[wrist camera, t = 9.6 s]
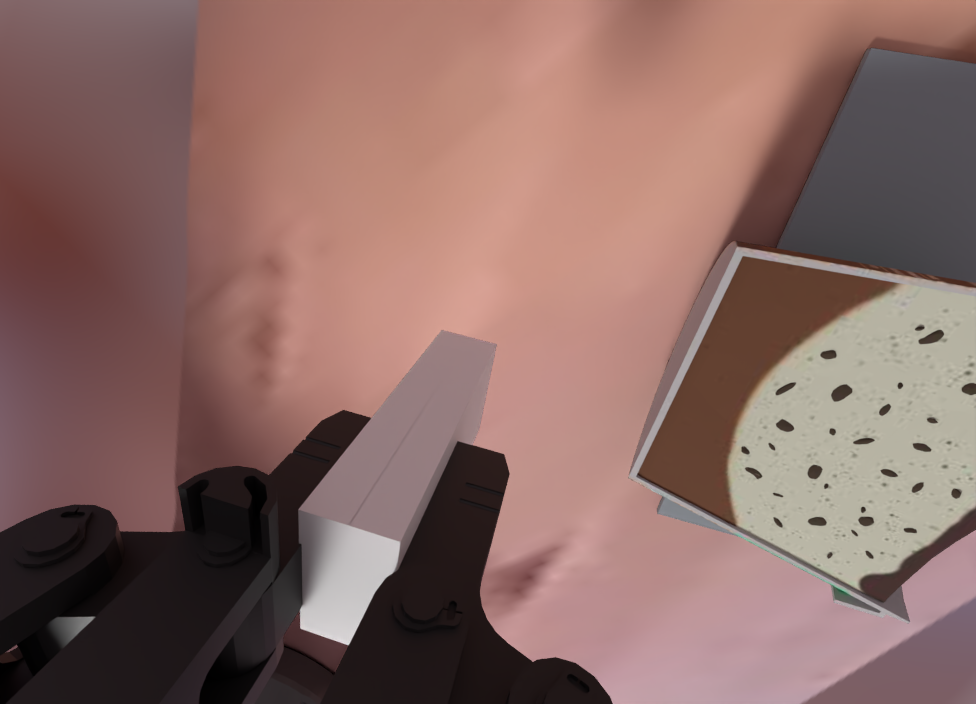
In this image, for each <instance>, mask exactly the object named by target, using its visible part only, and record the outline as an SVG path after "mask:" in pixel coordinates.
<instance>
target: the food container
mask: <svg viewBox="0 0 976 704" xmlns="http://www.w3.org/2000/svg"><path fill="white" fill-rule="evenodd" d="M628 478H629V479H631V480H633V481H635V482H637V483H639V484H641V485H642V486H644V487H646V488H648V489H650V490H652V491H654V492H656V493H658V494H659V495H661V496H663V497H665V498H667V499H669V500H671V501H673V502H675V503H677V504H678V505H680V506H682V507H684V508H686V509H688V510H690V511H692V512H694V513H696V514H697V515H699V516H701V517H703V518H705V519H707V520H709V521H711V522H713V523H715V524H716V525H718V526H720V527H722V528H724V529H726V530H728V531H730V532H732V533H734V534H735V535H737V536H739V537H741V538H743V539H745V540H747V541H749V542H751V543H753V544H754V545H756V546H758V547H760V548H762V549H764V550H766V551H768V552H770V553H772V554H773V555H775V556H777V557H779V558H781V559H783V560H785V561H787V562H789V563H790V564H792V565H794V566H796V567H798V568H800V569H802V570H804V571H806V572H808V573H809V574H811V575H813V576H815V577H817V578H819V579H821V580H823V581H825V582H827V583H828V584H830V585H831V588H832V594H833V600H834V603H837V604H840V605H843V606H846V607H849V608H852V609H856V610H859V611H862V612H865V613H868V614H871V615H874V616H878V617H881V618H883V617H884V616H885V615H889V616H891V617H894V618H896V619H898V620H901V621H903V622H906V623H908V624H909V623H910V620H909V617H908V613H907V610H906V606H905V603H904V599H903V592H902V586H901V585H902V584H903V583H904V582H905V581H907V580H908V579H909V578H910V577H911V576H912V575H913V574H915V573H916V572H917V571H918V570H919V569H920V568H921V567H923V566H924V565H925V564H926V563H927V562H928V561H930V560H931V559H932V558H933V557H935V556H936V555H938V554H939V553H941V552H942V551H943V550H945V549H946V548H948V547H949V546H951V545H952V544H953V543H955V542H956V541H958V540H960V539H961V538H963V537H965V536H966V535H968V534H970V533H971V532H973V531H975V530H976V283H973V282H968V281H962V280H956V279H950V278H945V277H939V276H933V275H927V274H922V273H916V272H910V271H904V270H899V269H893V268H887V267H881V266H876V265H870V264H864V263H858V262H853V261H847V260H841V259H835V258H830V257H824V256H818V255H812V254H806V253H801V252H795V251H789V250H783V249H778V248H772V247H766V246H760V245H755V244H749V243H743V242H737V241H732V242H731V243H730V244H729V245H728V246H727V247H726V248H725V249H724V251H723V252H722V254H721V255H720V257H719V258H718V260H717V261H716V263H715V265H714V267H713V268H712V270H711V272H710V274H709V275H708V277H707V279H706V281H705V283H704V285H703V287H702V289H701V291H700V293H699V295H698V297H697V299H696V301H695V303H694V305H693V307H692V309H691V311H690V313H689V316H688V318H687V320H686V322H685V324H684V327H683V329H682V331H681V333H680V336H679V338H678V340H677V343H676V345H675V347H674V350H673V352H672V354H671V357H670V359H669V362H668V364H667V366H666V369H665V372H664V374H663V377H662V379H661V382H660V384H659V387H658V389H657V392H656V394H655V397H654V400H653V403H652V405H651V408H650V411H649V414H648V417H647V419H646V422H645V425H644V428H643V431H642V434H641V437H640V440H639V443H638V446H637V449H636V452H635V455H634V459H633V462H632V466H631V469H630V473H629V476H628Z"/></svg>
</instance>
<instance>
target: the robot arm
mask: <svg viewBox="0 0 976 704" xmlns="http://www.w3.org/2000/svg"><path fill="white" fill-rule="evenodd" d="M496 346H497V344H494V343H490V342H486V341H483V340H479V339H475V338H471V337H467V336H463V335H459V334H456V333H452V332H448V331H444V330H441V332H440V333H439V334H438V335H437V337H436V338H435V339H434V340H433V342H432V343H431V344H430V345H429V347H428V348H427V349H426V350H425V352H424V353H423V354H422V355H421V357H420V358H419V359H418V360H417V362H416V363H415V364H414V365H413V367H412V368H411V369H410V370H409V372H408V373H407V374H406V375H405V377H404V378H403V379H402V380H401V382H400V383H399V384H398V385H397V387H396V388H395V389H394V391H393V392H392V393H391V394H390V396H389V397H388V398H387V399H386V401H385V402H384V403H383V404H382V406H381V407H380V408H379V409H378V411H377V412H376V413H375V414H374V416H373V417H372V418H370V417H366V416H363V415H359V414H356V413H352V412H349V411H345V410H342V411H340V412H338V413H336V414H334V415H332V416H330V417H328V418H326V419H324V420H322V421H321V422H320V423H319V424H318V425H317V426H316V427H315V428H314V429H313V430H312V431H311V432H310V433H309V434H308V435H307V436H306V439H305V440H303V441H302V442H301V443H300V444H299V445H298V446H297V447H296V448H295V449H294V451H293V453H292V454H291V453H290V454H289V455H288V456H287V457H286V458H285V459H284V460H283V461H282V462H281V463H280V464H279V466H278V467H277V468H276V469H275V470H274V471H273V472H272V473H271V474H270V475H267V474H265V473H263V472H261V471H259V470H257V469H255V468H248V467H241V466H232V467H223V468H216V469H213V470H210V471H207V472H204V473H201V474H198V475H196V476H194V477H192V478H191V479H189V480H188V481H186V482H185V483H183V484H181V485H180V486H178V490H179V496H180V501H181V507H182V513H183V518H184V524H185V531H180V532H121V531H119V527H118V523H117V521H116V519H115V518H114V516H113V515H112V513H111V512H110V511H109V510H106V509H104V508H101V507H98V506H96V505H70V506H65V507H61V508H55V509H51V510H48V511H45V512H43V513H40V514H38V515H36V516H33V517H31V518H28V519H26V520H24V521H22V522H20V523H18V524H16V525H14V526H12V527H10V528H8V529H6V530H4V531H2V532H0V704H613V703H612V701H611V698H610V696H609V695H608V694H607V692H606V691H605V690H604V689H603V687H602V686H601V685H600V683H599V682H598V681H597V679H596V678H595V677H594V676H593V675H591V674H590V673H589V672H587V671H586V670H584V669H583V668H582V667H580V666H579V665H578V664H576V663H573V662H570V661H566V660H563V659H560V658H556V657H555V658H547V659H540V660H536V661H534V662H532V661H531V660H530V659H528V658H527V657H526V656H524V655H523V654H522V653H520V652H519V651H518V650H516V649H515V648H514V647H512V646H511V645H510V644H508V643H507V642H506V641H505V640H504V639H503V638H502V637H501V636H500V635H498V634H497V633H496V632H495V630H494V629H493V627H492V626H491V624H490V623H489V621H488V620H487V618H486V615H485V613H484V610H483V608H482V605H481V597H480V586H481V581H482V577H483V573H484V569H485V566H486V562H487V558H488V554H489V551H490V547H491V543H492V539H493V536H494V532H495V528H496V524H497V520H498V516H499V513H500V509H501V505H502V501H503V497H504V493H505V489H506V486H507V482H508V478H509V470H508V466H507V463H506V459H505V456H504V454H501V453H498V452H494V451H491V450H487V449H484V448H480V447H477V446H473V443H474V440H475V438H476V435H477V433H478V431H479V428H480V423H481V418H482V413H483V409H484V404H485V399H486V394H487V389H488V385H489V380H490V375H491V370H492V365H493V360H494V356H495V351H496ZM299 610H300V629H303V630H306V631H308V632H311V633H314V634H317V635H320V636H323V637H326V638H329V639H331V640H334V641H337V642H340V643H343V644H346V645H349V646H348V648H347V650H346V652H345V654H344V656H343V658H342V660H341V662H340V664H339V666H338V668H337V670H336V672H335V674H334V675H333V674H332V673H330V672H329V671H328V670H326V669H325V668H323V667H322V666H320V665H319V664H317V663H316V662H314V661H313V660H311V659H309V658H307V657H305V656H303V655H302V654H300V653H297V652H295V651H293V650H291V649H288V648H286V647H284V643H283V635H284V634H285V632H286V631H287V629H288V628H289V626H290V624H291V623H292V621H293V620H294V618H295V616H296V615H297V613H298V612H299ZM15 645H17V646H18V647H17V648H16V649H14V650H12V651H10V652H6V651H8V650H9V649H11V648H12V647H14V646H15ZM5 652H6V653H5Z"/></svg>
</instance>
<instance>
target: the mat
mask: <svg viewBox="0 0 976 704" xmlns="http://www.w3.org/2000/svg"><path fill="white" fill-rule="evenodd" d="M776 248H778V249H783V250H789V251H795V252H801V253H806V254H812V255H818V256H824V257H830V258H835V259H841V260H847V261H853V262H858V263H864V264H870V265H876V266H881V267H887V268H893V269H899V270H904V271H910V272H916V273H922V274H927V275H933V276H939V277H945V278H950V279H956V280H962V281H968V282H973V283H976V64H973V63H967V62H960V61H954V60H947V59H941V58H934V57H928V56H921V55H914V54H908V53H901V52H895V51H888V50H882V49H875V48H870V49H867V50H866V52H865V54H864V56H863V58H862V61H861V63H860V65H859V67H858V69H857V72H856V74H855V76H854V78H853V80H852V83H851V85H850V87H849V89H848V91H847V94H846V96H845V98H844V100H843V102H842V105H841V107H840V109H839V111H838V113H837V116H836V118H835V120H834V122H833V124H832V126H831V129H830V131H829V133H828V135H827V137H826V140H825V142H824V144H823V146H822V148H821V151H820V153H819V155H818V157H817V159H816V162H815V164H814V166H813V168H812V170H811V173H810V175H809V177H808V179H807V181H806V183H805V186H804V188H803V190H802V192H801V194H800V197H799V199H798V201H797V203H796V205H795V208H794V210H793V212H792V214H791V216H790V219H789V221H788V223H787V225H786V227H785V230H784V232H783V234H782V236H781V238H780V241H779V243H778V245H777V247H776ZM657 514H660V515H664V516H668V517H671V518H675V519H678V520H682V521H685V522H689V523H692V524H696V525H699V526H703V527H707V528H710V529H714V530H717V531H721V532H724V533H728V534H731V535H735V534H734V533H732V532H730V531H728V530H726V529H724V528H722V527H720V526H718V525H716V524H715V523H713V522H711V521H709V520H707V519H705V518H703V517H701V516H699V515H697V514H696V513H694V512H692V511H690V510H688V509H686V508H684V507H682V506H680V505H678V504H677V503H675V502H673V501H671V500H669V499H667V498H665V497H662V499H661V501H660V504H659V506H658V508H657ZM735 536H737V535H735ZM738 537H739V536H738Z"/></svg>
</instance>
